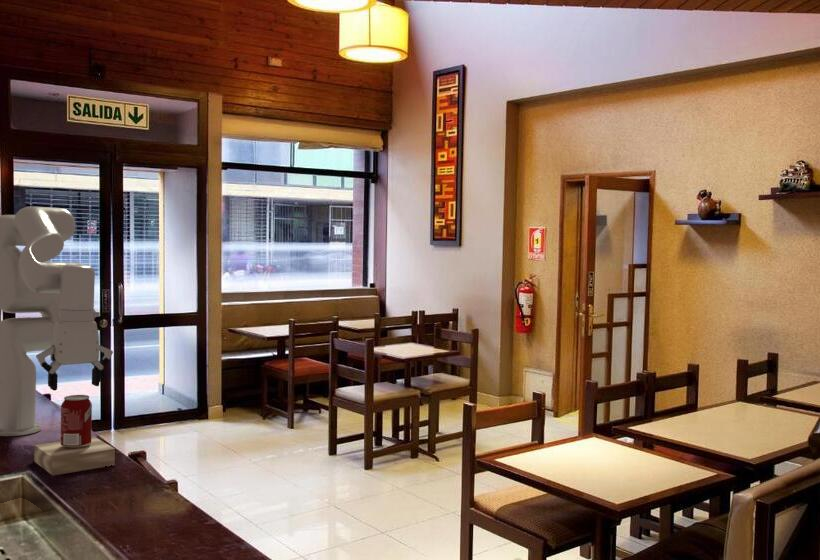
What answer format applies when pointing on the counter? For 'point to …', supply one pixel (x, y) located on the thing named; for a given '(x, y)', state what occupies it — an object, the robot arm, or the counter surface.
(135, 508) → the counter surface
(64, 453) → the birch block
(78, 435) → the soda can
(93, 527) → the counter surface
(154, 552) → the counter surface
